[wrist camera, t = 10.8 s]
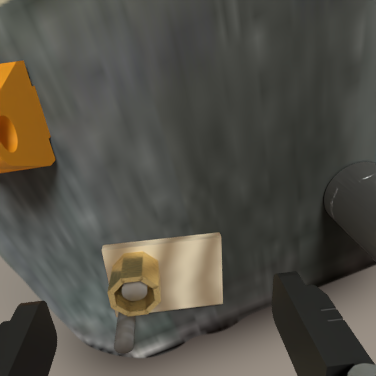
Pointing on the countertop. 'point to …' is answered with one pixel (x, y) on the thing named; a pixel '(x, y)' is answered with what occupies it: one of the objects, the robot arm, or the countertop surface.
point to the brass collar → (131, 272)
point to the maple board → (171, 276)
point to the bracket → (21, 122)
